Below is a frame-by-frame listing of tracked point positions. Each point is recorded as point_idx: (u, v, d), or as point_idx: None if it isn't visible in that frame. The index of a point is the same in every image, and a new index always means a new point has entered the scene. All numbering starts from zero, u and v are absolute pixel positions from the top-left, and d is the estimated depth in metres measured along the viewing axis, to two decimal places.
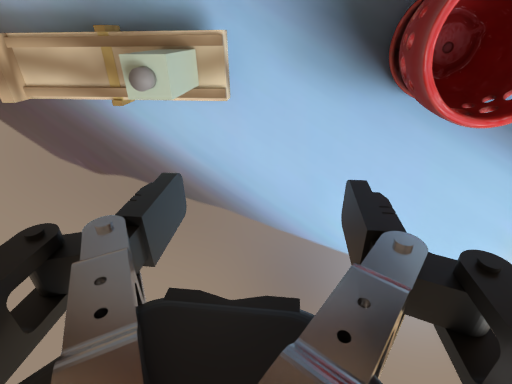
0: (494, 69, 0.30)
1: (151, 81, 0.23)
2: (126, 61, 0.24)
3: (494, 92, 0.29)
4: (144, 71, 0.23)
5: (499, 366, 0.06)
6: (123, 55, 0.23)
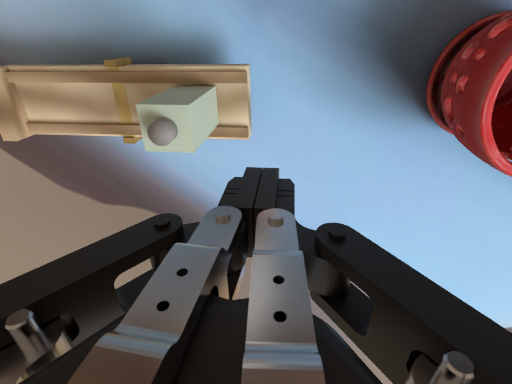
0: None
1: (172, 135, 0.20)
2: (143, 112, 0.21)
3: None
4: (165, 126, 0.20)
5: (374, 315, 0.07)
6: (140, 105, 0.21)
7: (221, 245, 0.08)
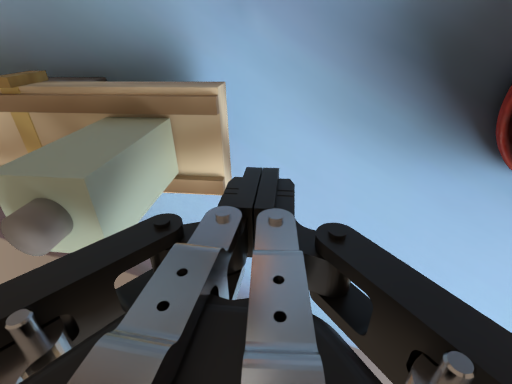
0: None
1: (54, 237, 0.10)
2: (2, 188, 0.11)
3: None
4: (33, 223, 0.10)
5: (374, 315, 0.07)
6: None
7: (221, 245, 0.08)
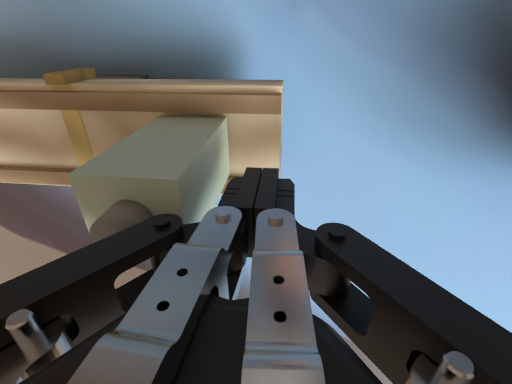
0: None
1: None
2: (85, 188, 0.10)
3: None
4: (127, 227, 0.09)
5: (374, 315, 0.07)
6: (78, 177, 0.10)
7: (221, 245, 0.08)
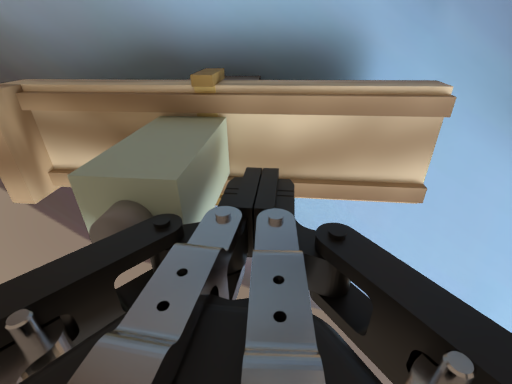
0: None
1: None
2: (85, 189, 0.10)
3: None
4: (126, 227, 0.09)
5: (374, 315, 0.07)
6: (78, 177, 0.10)
7: (221, 245, 0.08)
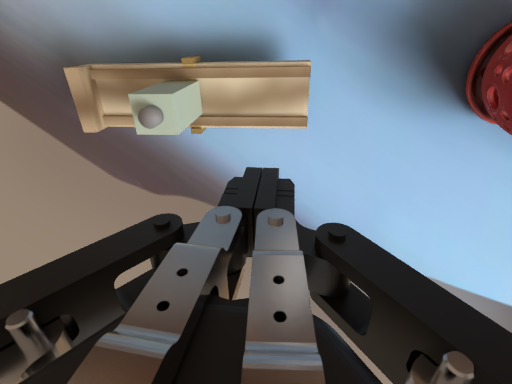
0: None
1: (159, 119, 0.25)
2: (135, 100, 0.25)
3: None
4: (152, 111, 0.24)
5: (374, 315, 0.07)
6: (132, 95, 0.25)
7: (221, 245, 0.08)
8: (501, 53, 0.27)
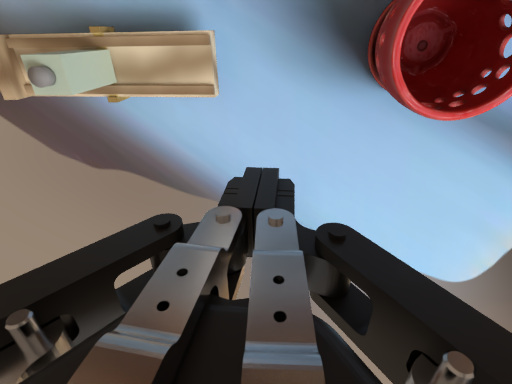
0: (465, 66, 0.32)
1: (48, 78, 0.26)
2: (27, 61, 0.27)
3: (464, 87, 0.31)
4: (40, 70, 0.26)
5: (374, 315, 0.07)
6: (24, 55, 0.27)
7: (221, 245, 0.08)
8: (383, 21, 0.29)
